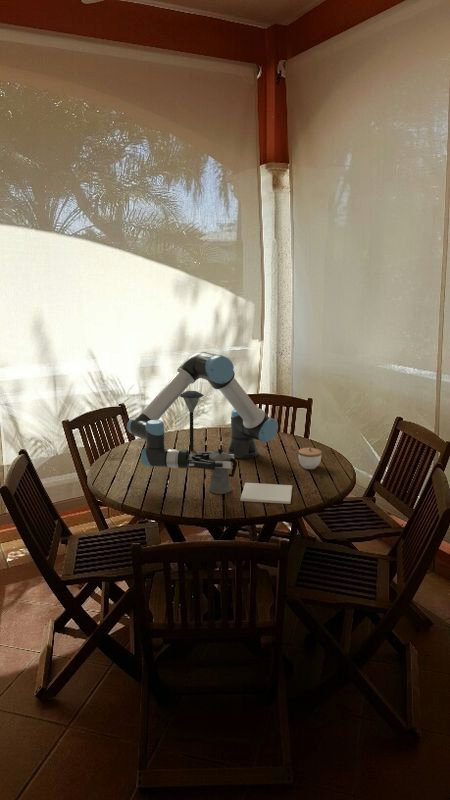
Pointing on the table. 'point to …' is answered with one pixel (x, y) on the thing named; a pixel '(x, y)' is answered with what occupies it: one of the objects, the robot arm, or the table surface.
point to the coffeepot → (221, 473)
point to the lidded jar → (309, 457)
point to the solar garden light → (191, 409)
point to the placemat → (267, 493)
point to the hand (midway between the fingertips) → (232, 461)
